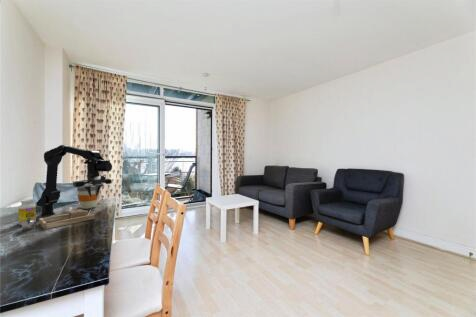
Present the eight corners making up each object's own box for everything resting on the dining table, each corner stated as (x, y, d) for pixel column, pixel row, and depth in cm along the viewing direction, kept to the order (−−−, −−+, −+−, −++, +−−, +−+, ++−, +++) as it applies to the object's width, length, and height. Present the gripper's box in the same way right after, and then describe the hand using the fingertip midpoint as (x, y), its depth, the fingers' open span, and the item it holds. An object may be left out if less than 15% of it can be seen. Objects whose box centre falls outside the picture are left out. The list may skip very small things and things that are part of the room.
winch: (21, 229, 105) (21, 216, 105) (33, 226, 109) (33, 214, 109) (23, 232, 102) (22, 218, 101) (35, 229, 105) (35, 216, 105)
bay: (39, 223, 114) (39, 218, 114) (87, 214, 131) (87, 209, 131) (44, 229, 105) (44, 223, 105) (94, 218, 123) (94, 213, 122)
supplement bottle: (24, 225, 110) (24, 201, 110) (15, 224, 111) (14, 201, 111) (39, 221, 117) (38, 198, 116) (30, 220, 118) (29, 198, 117)
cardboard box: (68, 219, 121) (68, 211, 121) (81, 217, 126) (81, 208, 125) (71, 222, 117) (71, 213, 117) (84, 219, 122) (84, 210, 122)
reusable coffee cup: (102, 206, 150) (102, 185, 149) (82, 210, 139) (81, 188, 139) (94, 203, 156) (93, 183, 156) (74, 207, 146) (73, 186, 145)
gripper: (78, 173, 115) (78, 201, 115) (115, 171, 129) (115, 196, 130) (72, 171, 122) (73, 198, 122) (108, 169, 136) (108, 193, 137)
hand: (93, 196), depth 127 cm, fingers open, 3 cm apart
